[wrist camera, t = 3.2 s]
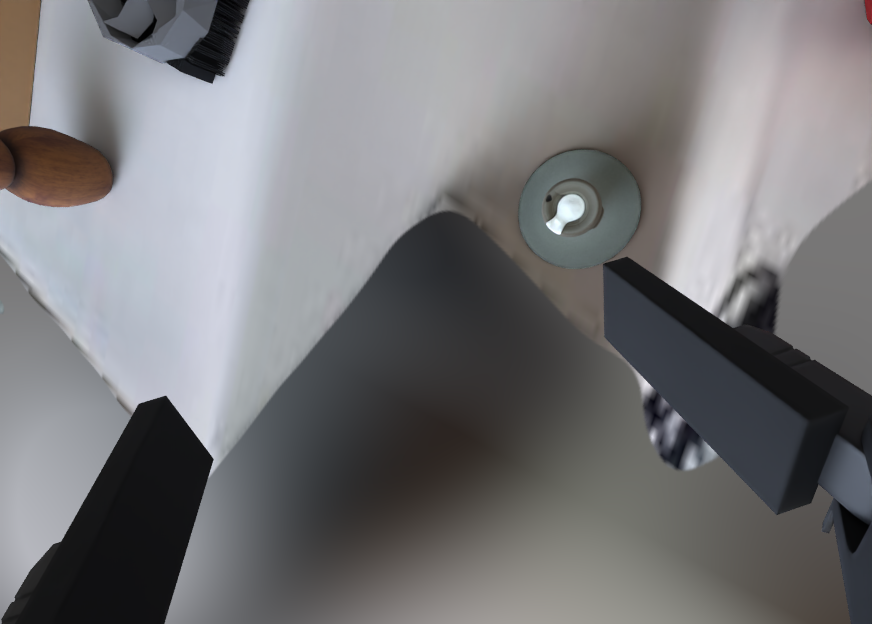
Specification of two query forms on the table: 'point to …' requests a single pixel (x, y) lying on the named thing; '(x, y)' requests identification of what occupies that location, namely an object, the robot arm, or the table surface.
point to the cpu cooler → (171, 31)
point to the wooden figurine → (52, 167)
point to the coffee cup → (579, 209)
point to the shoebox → (17, 60)
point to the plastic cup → (869, 10)
